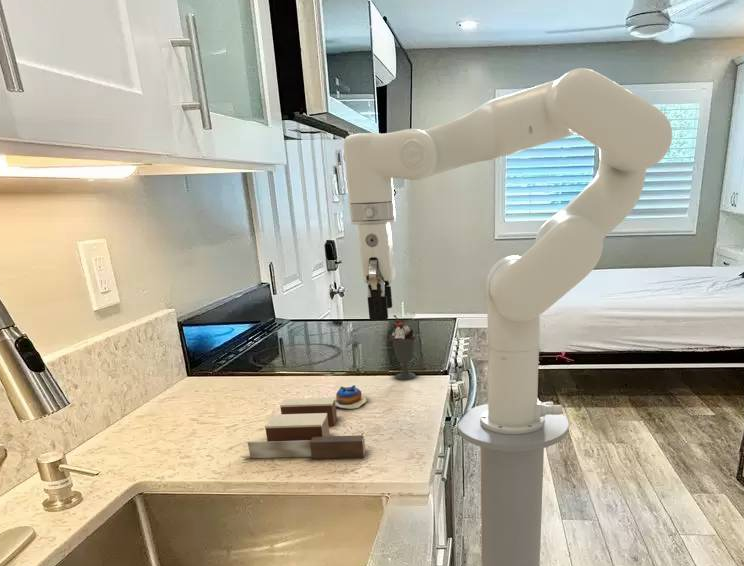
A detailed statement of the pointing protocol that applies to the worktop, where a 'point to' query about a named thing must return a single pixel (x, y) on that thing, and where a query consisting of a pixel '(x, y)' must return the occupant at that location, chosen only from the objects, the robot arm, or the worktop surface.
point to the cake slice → (311, 407)
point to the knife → (311, 448)
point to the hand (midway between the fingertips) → (381, 313)
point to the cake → (297, 427)
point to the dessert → (349, 397)
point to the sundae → (403, 348)
